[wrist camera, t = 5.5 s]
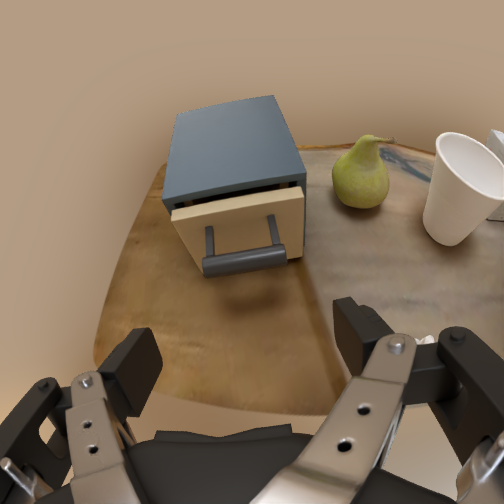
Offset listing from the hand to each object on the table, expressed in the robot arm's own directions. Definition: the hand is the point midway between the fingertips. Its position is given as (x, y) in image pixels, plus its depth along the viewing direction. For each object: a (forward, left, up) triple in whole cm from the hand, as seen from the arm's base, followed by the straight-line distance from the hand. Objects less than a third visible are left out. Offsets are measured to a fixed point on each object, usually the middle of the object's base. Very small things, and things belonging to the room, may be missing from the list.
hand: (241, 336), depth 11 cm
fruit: (-14, -18, -14) cm, 26 cm away
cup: (-24, -12, -14) cm, 30 cm away
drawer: (0, -15, -13) cm, 20 cm away
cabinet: (0, -20, -14) cm, 24 cm away
